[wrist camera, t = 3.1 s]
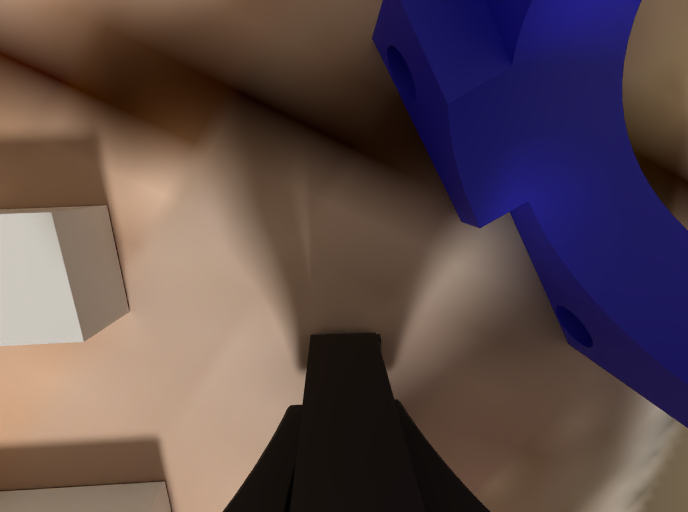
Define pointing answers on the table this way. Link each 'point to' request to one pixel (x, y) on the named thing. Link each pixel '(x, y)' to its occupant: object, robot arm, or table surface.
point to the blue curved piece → (552, 166)
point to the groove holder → (64, 323)
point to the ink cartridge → (351, 433)
